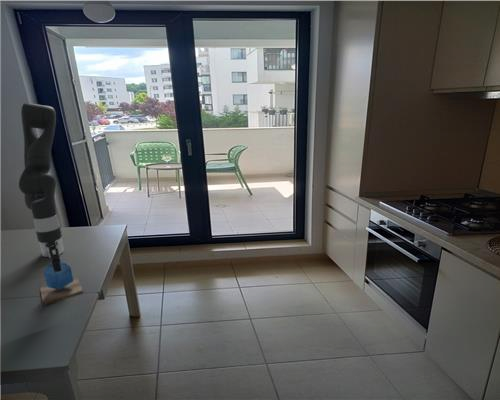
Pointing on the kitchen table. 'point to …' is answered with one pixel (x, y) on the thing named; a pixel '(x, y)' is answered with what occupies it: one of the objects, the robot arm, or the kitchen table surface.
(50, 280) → the perfume bottle
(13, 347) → the kitchen table surface
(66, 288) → the walnut board
